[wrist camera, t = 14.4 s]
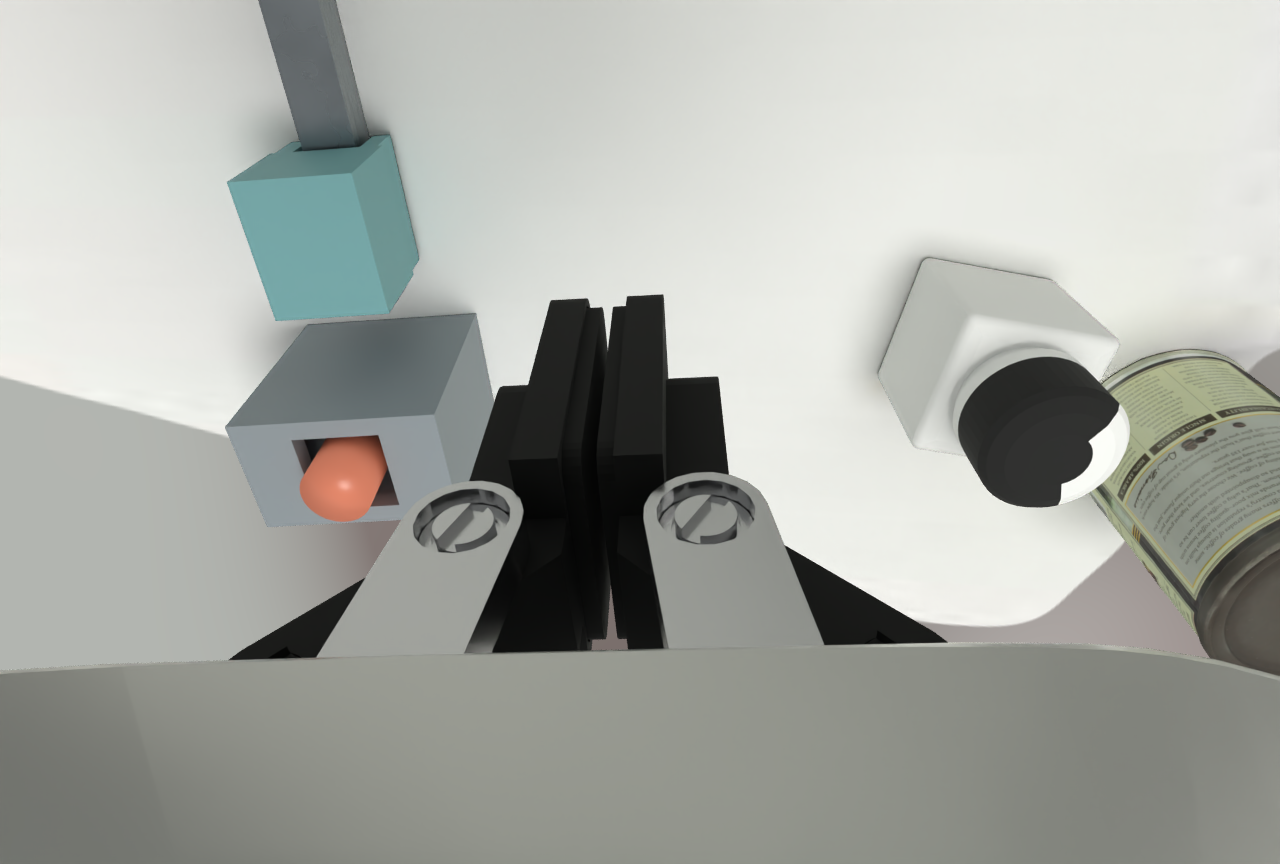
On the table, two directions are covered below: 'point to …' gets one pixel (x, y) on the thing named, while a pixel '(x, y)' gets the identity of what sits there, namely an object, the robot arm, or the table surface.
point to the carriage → (328, 229)
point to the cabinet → (368, 411)
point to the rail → (316, 73)
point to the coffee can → (1203, 497)
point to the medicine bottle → (1006, 382)
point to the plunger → (344, 477)
